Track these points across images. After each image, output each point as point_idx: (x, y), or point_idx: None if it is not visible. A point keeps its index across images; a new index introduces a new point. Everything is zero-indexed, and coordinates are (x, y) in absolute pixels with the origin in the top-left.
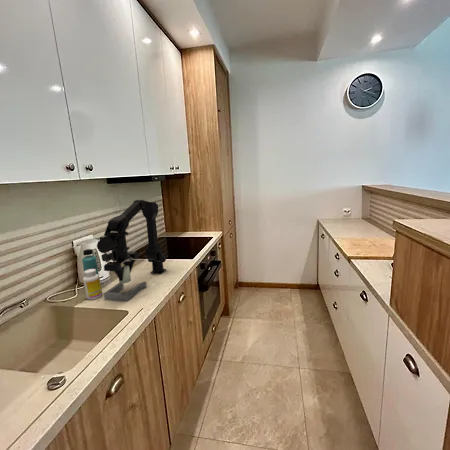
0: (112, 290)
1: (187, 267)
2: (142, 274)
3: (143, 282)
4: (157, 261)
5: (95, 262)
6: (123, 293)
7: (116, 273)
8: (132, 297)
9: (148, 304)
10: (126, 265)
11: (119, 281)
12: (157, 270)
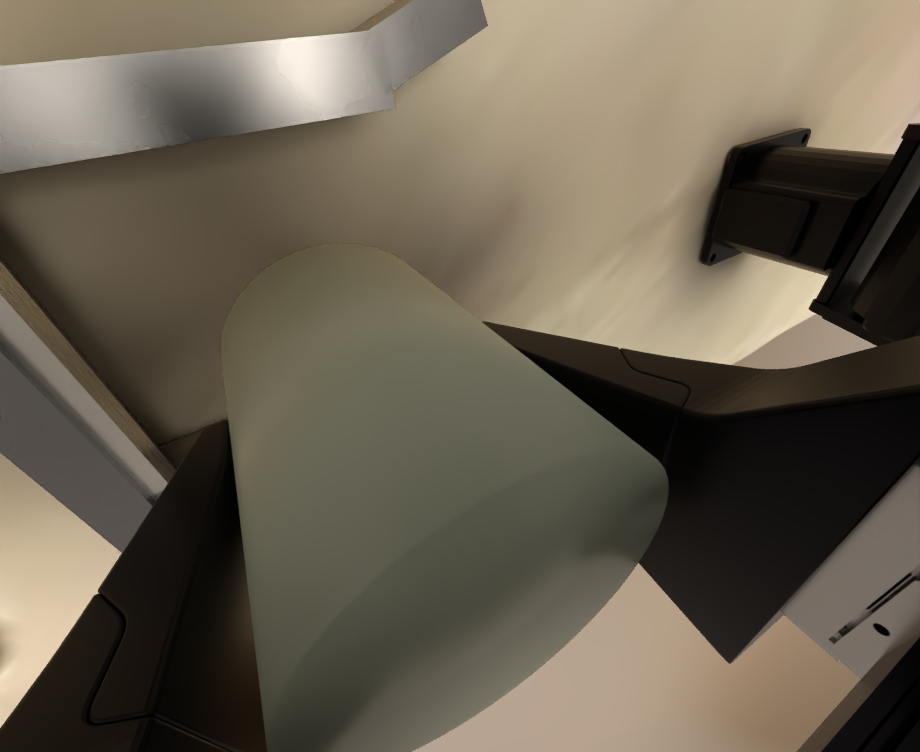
0: (45, 164)
1: (748, 348)
2: (732, 52)
3: None
4: (851, 265)
5: None
6: (124, 485)
7: (67, 694)
8: None
9: None
10: (633, 546)
11: (225, 346)
12: (737, 245)
